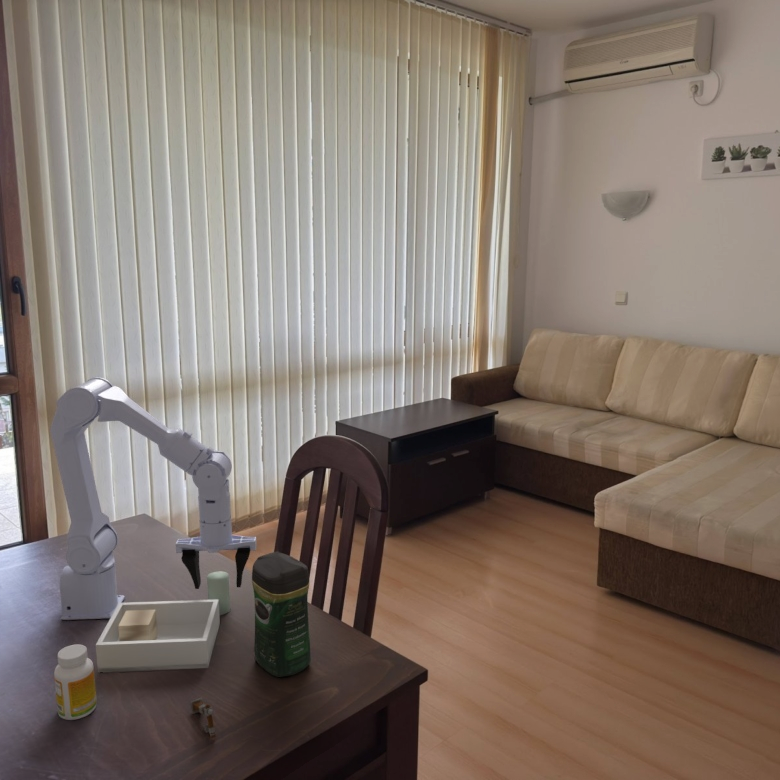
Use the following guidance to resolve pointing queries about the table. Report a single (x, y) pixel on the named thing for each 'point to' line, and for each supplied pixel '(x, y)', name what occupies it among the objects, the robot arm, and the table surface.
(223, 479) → the robot arm
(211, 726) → the wooden post with brackets
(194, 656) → the tote
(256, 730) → the table surface
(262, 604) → the coffee jar
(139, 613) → the maple cube
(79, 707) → the supplement bottle
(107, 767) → the table surface
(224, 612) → the sage cylinder
